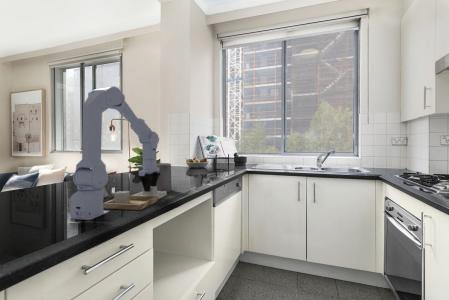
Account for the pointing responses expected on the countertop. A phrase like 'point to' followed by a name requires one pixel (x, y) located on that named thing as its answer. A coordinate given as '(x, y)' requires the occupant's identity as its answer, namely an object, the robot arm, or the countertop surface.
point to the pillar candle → (164, 177)
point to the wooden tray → (132, 203)
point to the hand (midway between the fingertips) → (150, 190)
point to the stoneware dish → (159, 194)
